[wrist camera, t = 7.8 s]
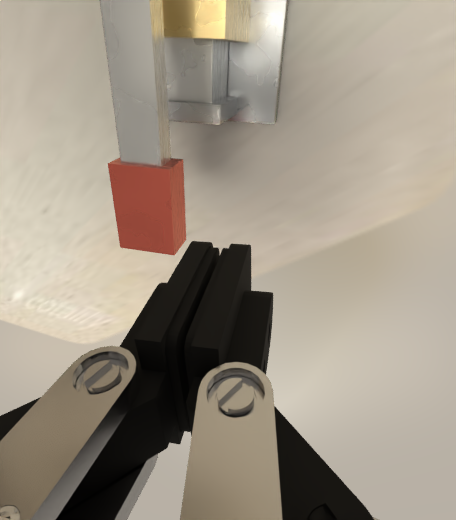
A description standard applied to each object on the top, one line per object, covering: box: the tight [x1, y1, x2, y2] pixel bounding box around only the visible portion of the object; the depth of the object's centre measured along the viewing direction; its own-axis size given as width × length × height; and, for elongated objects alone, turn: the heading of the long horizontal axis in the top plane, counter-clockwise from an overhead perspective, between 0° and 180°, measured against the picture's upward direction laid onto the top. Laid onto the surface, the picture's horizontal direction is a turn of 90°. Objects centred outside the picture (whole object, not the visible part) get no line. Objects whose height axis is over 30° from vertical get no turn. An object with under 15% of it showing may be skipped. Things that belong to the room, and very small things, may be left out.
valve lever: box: [100, 0, 186, 255], centre depth 15 cm, size 14×3×2 cm, turn 179°
